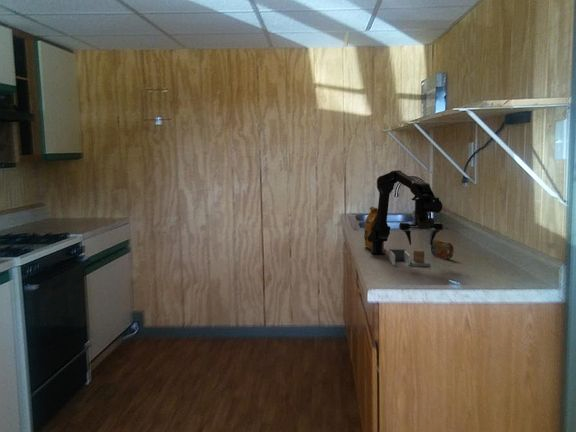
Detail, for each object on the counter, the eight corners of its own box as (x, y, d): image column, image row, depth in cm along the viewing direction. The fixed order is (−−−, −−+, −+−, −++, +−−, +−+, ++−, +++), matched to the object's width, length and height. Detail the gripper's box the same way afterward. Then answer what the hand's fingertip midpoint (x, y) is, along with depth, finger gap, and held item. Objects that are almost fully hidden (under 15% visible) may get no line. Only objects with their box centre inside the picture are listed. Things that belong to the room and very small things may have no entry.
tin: (430, 255, 277) (430, 238, 276) (435, 254, 278) (436, 238, 277) (448, 260, 263) (449, 243, 262) (454, 260, 264) (455, 243, 263)
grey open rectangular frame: (389, 259, 266) (389, 249, 266) (405, 259, 266) (405, 249, 266) (393, 265, 254) (393, 254, 253) (410, 265, 253) (410, 254, 253)
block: (413, 260, 259) (413, 249, 258) (422, 260, 258) (422, 249, 258) (415, 262, 255) (415, 251, 254) (424, 262, 255) (424, 251, 254)
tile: (409, 262, 259) (409, 260, 259) (426, 262, 259) (426, 260, 259) (412, 266, 251) (412, 263, 251) (430, 266, 251) (430, 263, 251)
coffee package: (366, 250, 289) (367, 208, 286) (362, 246, 301) (363, 206, 299) (385, 250, 289) (386, 208, 287) (381, 246, 302) (381, 206, 299)
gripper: (403, 213, 244) (402, 248, 246) (446, 212, 244) (445, 248, 245) (399, 210, 255) (398, 243, 257) (440, 210, 255) (439, 243, 257)
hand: (420, 244), depth 254 cm, fingers open, 9 cm apart
